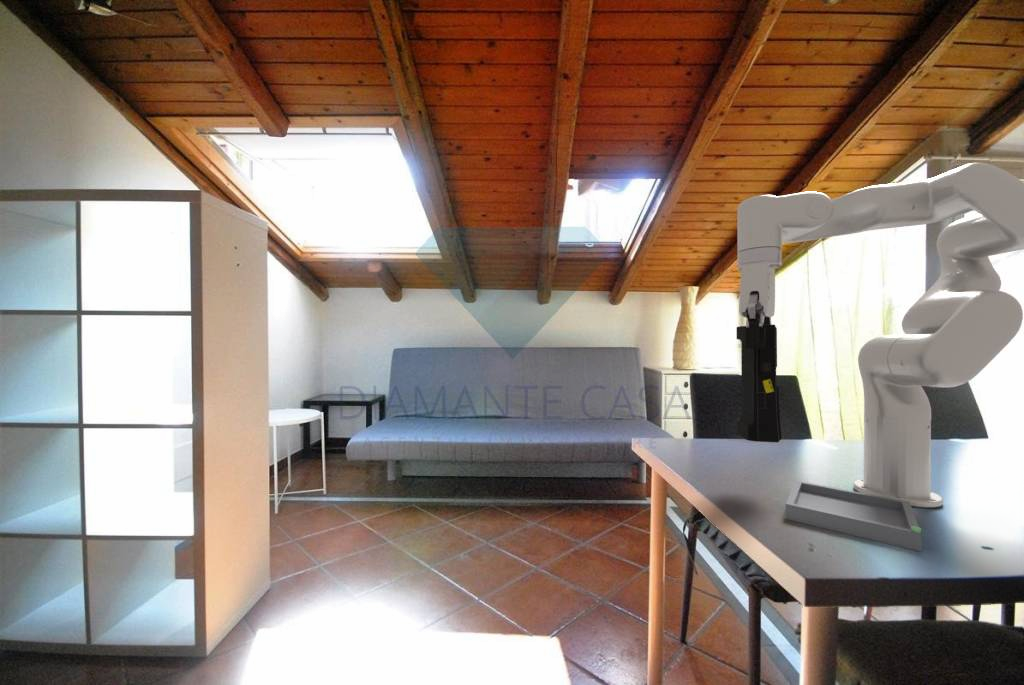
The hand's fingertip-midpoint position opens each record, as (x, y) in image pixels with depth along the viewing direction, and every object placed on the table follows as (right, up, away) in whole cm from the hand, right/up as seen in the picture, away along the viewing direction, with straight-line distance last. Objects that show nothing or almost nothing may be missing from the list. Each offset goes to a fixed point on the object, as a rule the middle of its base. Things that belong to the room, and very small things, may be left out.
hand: (759, 348), depth 80 cm
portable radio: (0, -18, 0) cm, 18 cm away
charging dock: (+8, -29, -12) cm, 32 cm away
